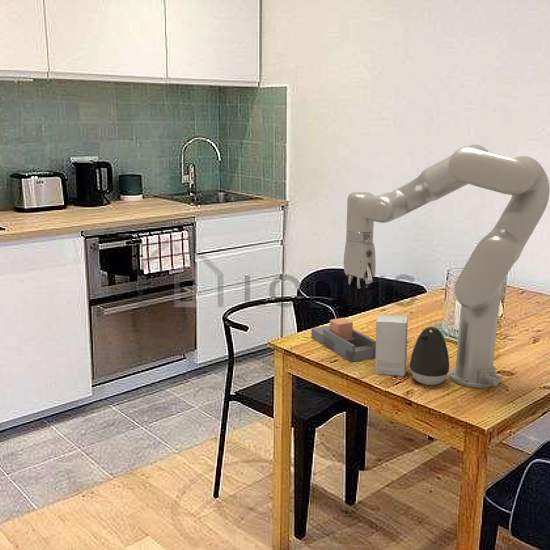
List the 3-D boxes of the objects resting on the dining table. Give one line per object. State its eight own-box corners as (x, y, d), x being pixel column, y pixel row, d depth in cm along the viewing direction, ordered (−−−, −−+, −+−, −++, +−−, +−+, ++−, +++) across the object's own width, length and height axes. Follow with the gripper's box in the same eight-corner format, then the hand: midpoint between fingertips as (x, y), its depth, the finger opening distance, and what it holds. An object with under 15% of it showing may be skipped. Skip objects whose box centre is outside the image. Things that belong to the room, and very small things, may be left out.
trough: (375, 357, 187) (376, 341, 186) (351, 362, 184) (352, 346, 183) (334, 333, 207) (334, 318, 206) (311, 337, 204) (311, 322, 202)
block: (352, 338, 195) (352, 322, 193) (338, 340, 192) (338, 324, 191) (343, 333, 199) (343, 317, 198) (329, 335, 197) (329, 319, 196)
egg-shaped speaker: (400, 381, 171) (404, 327, 168) (422, 370, 178) (426, 318, 175) (434, 393, 164) (438, 337, 161) (455, 381, 171) (459, 327, 168)
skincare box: (406, 368, 180) (409, 315, 176) (404, 377, 174) (407, 322, 170) (376, 365, 182) (378, 312, 178) (373, 374, 176) (376, 320, 172)
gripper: (387, 240, 175) (384, 305, 180) (354, 230, 189) (352, 291, 194) (364, 243, 172) (362, 308, 177) (333, 232, 186) (331, 294, 191)
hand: (357, 298), depth 185 cm, fingers open, 2 cm apart
